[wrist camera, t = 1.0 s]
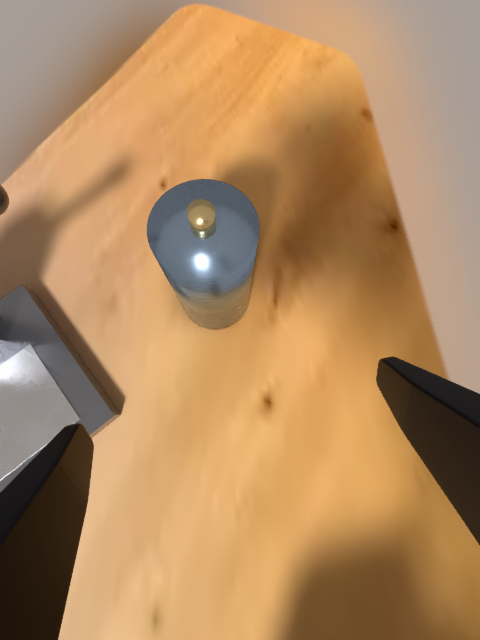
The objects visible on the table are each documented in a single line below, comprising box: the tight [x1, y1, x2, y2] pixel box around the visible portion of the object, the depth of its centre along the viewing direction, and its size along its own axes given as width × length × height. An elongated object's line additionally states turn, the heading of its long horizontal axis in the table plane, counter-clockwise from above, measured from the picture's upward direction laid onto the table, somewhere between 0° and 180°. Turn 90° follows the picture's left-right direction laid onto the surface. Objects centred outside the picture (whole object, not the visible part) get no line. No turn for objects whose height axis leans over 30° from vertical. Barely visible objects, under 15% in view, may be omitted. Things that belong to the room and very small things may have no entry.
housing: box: [147, 179, 259, 330], centre depth 18 cm, size 5×5×11 cm
